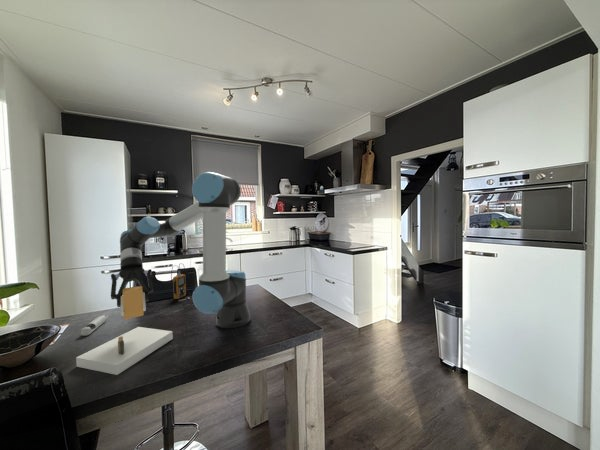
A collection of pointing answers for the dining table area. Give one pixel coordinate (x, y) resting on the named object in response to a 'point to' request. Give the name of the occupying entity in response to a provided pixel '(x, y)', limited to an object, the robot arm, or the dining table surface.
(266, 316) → the dining table surface
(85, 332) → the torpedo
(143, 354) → the white base board
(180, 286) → the multimeter
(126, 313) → the orange upright block
